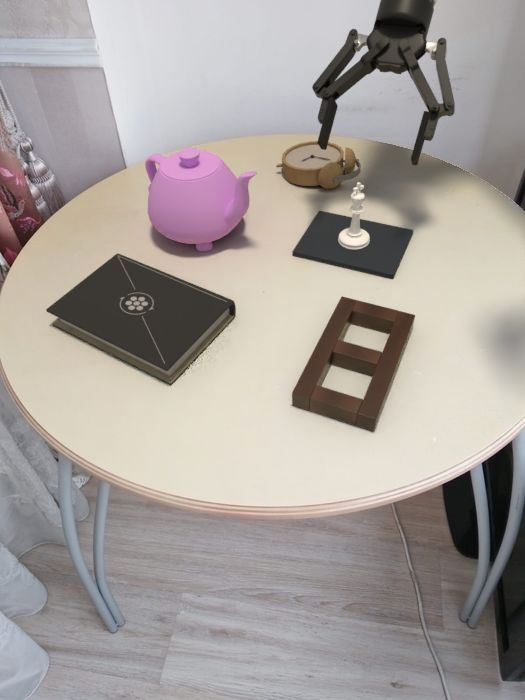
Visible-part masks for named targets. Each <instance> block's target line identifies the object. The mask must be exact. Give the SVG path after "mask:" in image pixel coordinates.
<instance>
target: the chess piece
mask: <svg viewBox="0 0 525 700" xmlns="http://www.w3.org/2000/svg"><path fill="white" fill-rule="evenodd" d="M364 189H365V185H364V184H362V183H361V182H360V181H358V182H356V186H355V187H353V188H352V193H351V194H350V198H351V202H352V205H351V206H350V207H349V212H350V213H351V214H352V216H351V217H352V221H351V225H350V228H347V229H344V230H343V231H341V232H340V234H339V237H338V242H339V243H340V245H341V246H343V247H345V248H347V249H353V250H356V249H362V248H364V247H366V246H367V245H368V244H369V242H370V236H369V234H368V233H367V232H366V231H365V230H363V229H360V219H361V218H360V214H363V213H364V211H365V209H364V207H363V205H362V204H363V201H364V200H365V197H366V195H365V193H364V192H362V190H364Z"/></svg>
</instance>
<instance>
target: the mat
mask: <svg viewBox="0 0 525 700" xmlns="http://www.w3.org/2000/svg"><path fill="white" fill-rule="evenodd" d="M351 221H352V216H348V215H343V214H338V213H333V212H328V211H324V210H318V211H317V213H316V215H314V217H313V219H312V220H311V222H310V223H309V225H308V227H307V228H306V230H305V231H304V233H303V234H302V236H301V237H300V239H299V241H298V242H297V244H296V245H295V246H294V248H293V250H292V256H293V257H297V258H302V259H305V260H310V261H314V262H319V263H322V264H326V265H330V266H335V267H340V268H344V269H347V270H352V271H357V272H361V273H366V274H370V275H374V276H378V277H382V278H387V279H391V280H394V278H395V276H396V274H397V272H398V269H399V267H400V264H401V262H402V261H403V257H404V255H405V253H406V251H407V250H408V246H409V244H410V242H411V240H412V238H413V235H414V229H410V228H407V227H402V226H397V225H391V224H387V223H383V222H377V221H372V220H368V219H362V218H360V229H363V230H365V231H366V232H367V233H368V234H369V236H370V242H369V244H368V245H367V246H366V247H364V248H362V249H356V250H353V249H347V248H345V247H343V246H341V245H340V243H339V242H338V237H339V234H340V232H341V231H343V230H344V229H347V228H350V225H351Z"/></svg>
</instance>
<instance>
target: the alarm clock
mask: <svg viewBox="0 0 525 700" xmlns="http://www.w3.org/2000/svg"><path fill="white" fill-rule="evenodd" d="M317 142H318V140H312V141H305V142H300V143H298V144H295V145H292V146H290V147H289V148H287V149H286V150H285V151H284V152H283V153H282V155H281V163H278V164H276V165H275V166H276V168H282V175H283V177H284V179H285V180H286V181H288V182H289V183H292V184H293V185H297V186H298V185H299V186H305V187H312V186H313V187H314V186H316V187H317V186H320V187H322V188H323V189H325V190H326V189H327V190H332V189H335V188H336V187H338V185H340V183H341V182H343V181H349V180H352V179H354V178H356V177H358V176H359V175H360V174H361V170H362V165H361V162H360V160H359V158H357V157H356V154H355V151H354V150H353V149H352V148H350V147H346V146H345V148H344V150H343V148H342V146H339V145H338V144H336V143H334V142H330V141H328V145H327V148H326V150H323V149H321V148H320V146H319V145H318V143H317ZM356 167H357V169H356V170H355V168H356Z"/></svg>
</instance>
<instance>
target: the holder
mask: <svg viewBox="0 0 525 700" xmlns="http://www.w3.org/2000/svg"><path fill="white" fill-rule="evenodd" d="M415 319H416V314H412V313H410V312H405V311H401V310H398V309H393V308H390V307H386V306H382V305H377V304H374V303H370V302H366V301H362V300H358V299H354V298H351V297H346V296H342V295H341V297H340V299H339V300H338V302H337V304H336V307H335V308H334V311H333V312H332V314H331V316H330V317H329V320H328V322H327V324H326V326H325V328H324V329H323V332H322V333H321V335H320V338H319V340H318V342H317V343H316V346H315V347H314V349H313V352H312V353H311V354H310V357H309V359H308V361H307V363H306V365H305V367H304V369H303V371H302V373H301V374H300V376H299V378H298V381H297V382H296V385H295V386H294V388H293V390H292V392H291V401H292V402H291V405H292V406H293V407H296V408H299V409H303V410H306V411H309V412H311V413H315V414H317V415H321V416H325V417H327V418H330V419H333V420H337V421H339V422H343V423H346V424H348V425H352V426H356V427H358V428H361V429H364V430H368V431H371V432H373V433H374V432H375V431H376V428H377V426H378V423H379V420H380V417H381V414H382V412H383V409H384V406H385V404H386V401H387V398H388V396H389V393H390V390H391V388H392V385H393V383H394V379H395V377H396V374H397V371H398V368H399V366H400V363H401V360H402V358H403V355H404V352H405V350H406V347H407V344H408V341H409V340H410V336H411V334H412V331H413V329H414V323H415ZM351 325H355V326H359V327H362V328H366V329H370V330H374V331H377V332H381V333H386V334H388V337H387V340H386V342H385V345H384V347H383V350H382V351H380V350H377V349H373V348H370V347H365V346H363V345H358V344H355V343H352V342H347V341H344V338H345V336H346V334H347V332H348V331H349V328H350V326H351ZM332 365H333V366H336V367H340V368H343V369H347V370H350V371H353V372H357V373H360V374H364V375H366V376H370V377H371V379H370V382H369V384H368V387H367V389H366V392H365V394H364V396H363V398H360V397H356V396H353V395H351V394H347V393H343V392H340V391H338V390H334V389H331V388H327V387H324V386H322V385H323V383H324V381H325V379H326V376H327V374H328V373H329V370H330V368H331V367H332Z"/></svg>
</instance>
